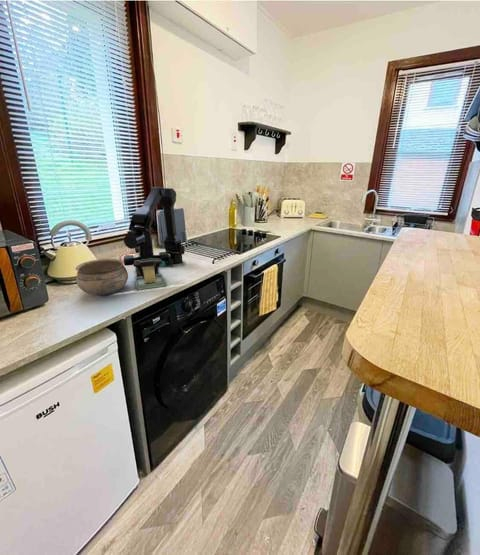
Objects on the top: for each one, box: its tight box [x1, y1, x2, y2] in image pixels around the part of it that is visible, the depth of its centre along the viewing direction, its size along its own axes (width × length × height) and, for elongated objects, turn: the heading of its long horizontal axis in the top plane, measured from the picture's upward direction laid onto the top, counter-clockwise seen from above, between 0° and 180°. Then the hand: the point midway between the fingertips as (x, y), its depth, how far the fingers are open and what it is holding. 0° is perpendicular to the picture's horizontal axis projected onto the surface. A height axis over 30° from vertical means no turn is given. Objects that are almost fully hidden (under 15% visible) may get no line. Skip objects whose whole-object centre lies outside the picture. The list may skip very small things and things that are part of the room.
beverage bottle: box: [137, 254, 174, 268], centre depth 144 cm, size 6×7×20 cm
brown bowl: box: [75, 258, 129, 297], centre depth 111 cm, size 25×19×12 cm
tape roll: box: [143, 267, 157, 285], centre depth 121 cm, size 7×5×7 cm, turn 23°
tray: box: [134, 273, 167, 292], centre depth 122 cm, size 12×11×2 cm
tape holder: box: [134, 260, 160, 277], centre depth 134 cm, size 14×10×5 cm
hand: (149, 276), depth 121 cm, fingers closed on tape roll, 4 cm apart
